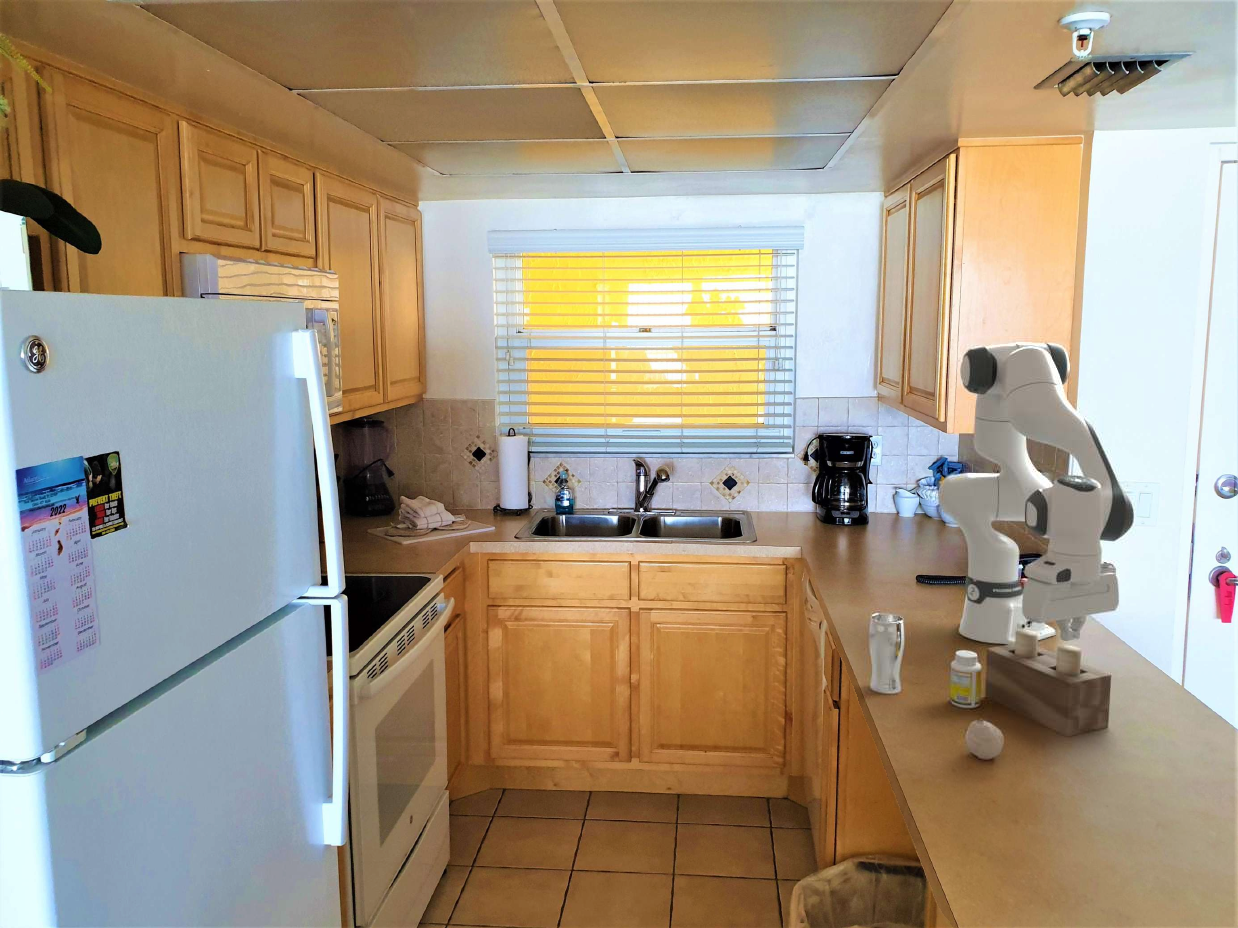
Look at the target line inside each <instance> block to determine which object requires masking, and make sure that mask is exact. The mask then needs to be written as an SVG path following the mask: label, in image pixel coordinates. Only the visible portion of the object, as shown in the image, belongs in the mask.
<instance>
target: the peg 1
mask: <svg viewBox="0 0 1238 928" xmlns="http://www.w3.org/2000/svg"><path fill="white" fill-rule="evenodd" d="M1038 642H1039V640H1038V633H1036V632H1034V631H1030V630H1018V631H1016V637H1015V654H1016V655H1018V656H1021V657H1023V658H1026V659H1027V658H1032V657H1037V649H1038V647H1039V646H1038Z"/></svg>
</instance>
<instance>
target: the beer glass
mask: <svg viewBox="0 0 1238 928" xmlns="http://www.w3.org/2000/svg"><path fill="white" fill-rule="evenodd" d="M905 632H906V631H905V619H904V617H903V616H901V615H898V614H896V613H888V612H879V613H874V614H871V615H870V621H869V629H868V643H869V644H868V646H869V652H870V653H869V654H870V660H871V666H872V667H871V669H872V673H871V674H872V675H871V680H870V684H869V688H870V689H871V691H873V692H876V693H877V694H878V693H879V694H883V695H894V694H897V693H899V692H901V691H902V687H901V686H902V685H901V679H900V669H901V664H902V659H903V655H904V648H905Z"/></svg>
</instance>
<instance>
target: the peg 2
mask: <svg viewBox="0 0 1238 928" xmlns="http://www.w3.org/2000/svg"><path fill="white" fill-rule="evenodd" d="M1056 648H1057V649H1056V654H1057V662H1056V671H1058V672H1060V673H1062V674H1065V675H1067V676H1072V675H1077V674H1080V666H1081V663H1082V649H1081V648H1079V647H1077V646H1073V645H1066V644H1064V645H1059V646H1057V647H1056Z"/></svg>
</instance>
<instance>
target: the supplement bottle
mask: <svg viewBox="0 0 1238 928" xmlns="http://www.w3.org/2000/svg"><path fill="white" fill-rule="evenodd" d="M981 686H982V665H981V664H980V663H979V662H978V654H977V653H976V652H974V651H972V650H964V649H963V650H957V651H956V652H955V655H954V660H953V661H952V662H951V663H950V687H949V688H950V689H949V690H950V691H949V700H950V702H951V704H952V705H954V706H956V707H958V708H962V709H974V708H978V707H979V706H980V705H981V694H982V693H981V689H982V687H981Z"/></svg>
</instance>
